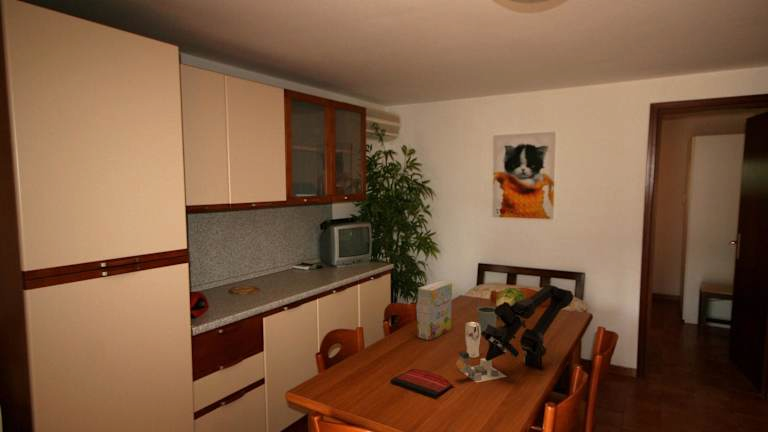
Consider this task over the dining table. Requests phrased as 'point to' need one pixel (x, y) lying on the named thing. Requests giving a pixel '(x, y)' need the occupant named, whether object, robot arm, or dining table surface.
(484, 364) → the slider
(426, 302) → the snack box
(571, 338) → the dining table surface
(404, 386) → the binder
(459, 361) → the orange lever
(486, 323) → the grey pot
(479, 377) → the panel
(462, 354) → the black lever
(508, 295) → the lettuce
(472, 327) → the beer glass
